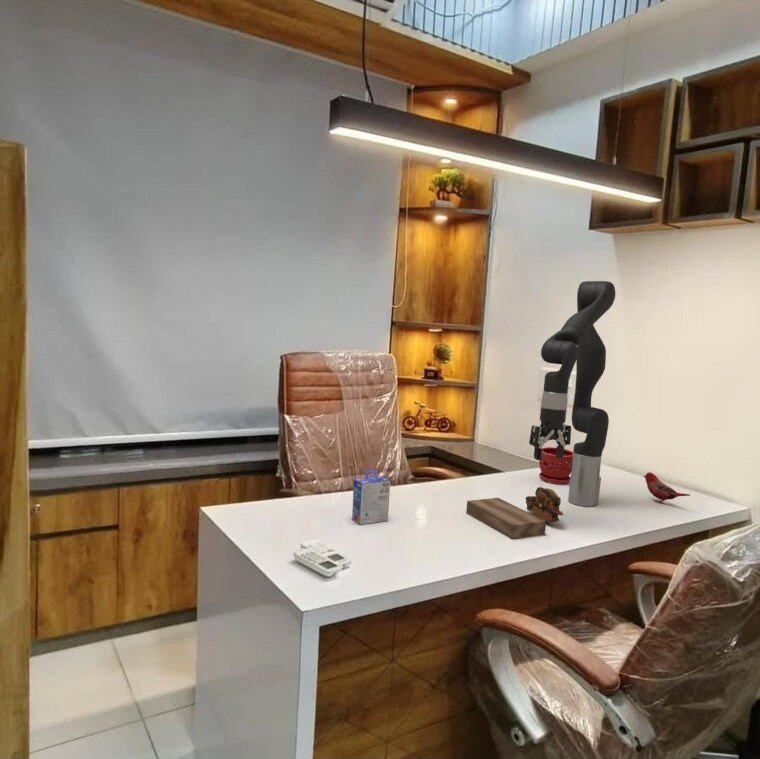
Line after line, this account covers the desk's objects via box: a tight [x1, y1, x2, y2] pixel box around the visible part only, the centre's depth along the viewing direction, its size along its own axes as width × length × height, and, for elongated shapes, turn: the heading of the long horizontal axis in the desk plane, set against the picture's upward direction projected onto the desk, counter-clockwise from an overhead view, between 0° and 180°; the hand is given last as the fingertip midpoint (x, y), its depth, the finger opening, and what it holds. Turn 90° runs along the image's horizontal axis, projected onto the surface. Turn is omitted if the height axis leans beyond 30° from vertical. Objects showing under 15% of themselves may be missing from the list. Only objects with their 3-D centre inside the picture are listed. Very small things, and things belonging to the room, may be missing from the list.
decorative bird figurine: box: [642, 472, 691, 505], centre depth 210 cm, size 3×18×10 cm, turn 34°
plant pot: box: [538, 446, 573, 485], centre depth 231 cm, size 13×13×12 cm
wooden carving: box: [525, 486, 564, 523], centre depth 184 cm, size 16×5×10 cm, turn 25°
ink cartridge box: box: [351, 469, 391, 525], centre depth 173 cm, size 10×6×14 cm, turn 121°
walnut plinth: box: [465, 497, 547, 540], centre depth 179 cm, size 12×22×4 cm, turn 27°
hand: (548, 459), depth 182 cm, fingers open, 8 cm apart
